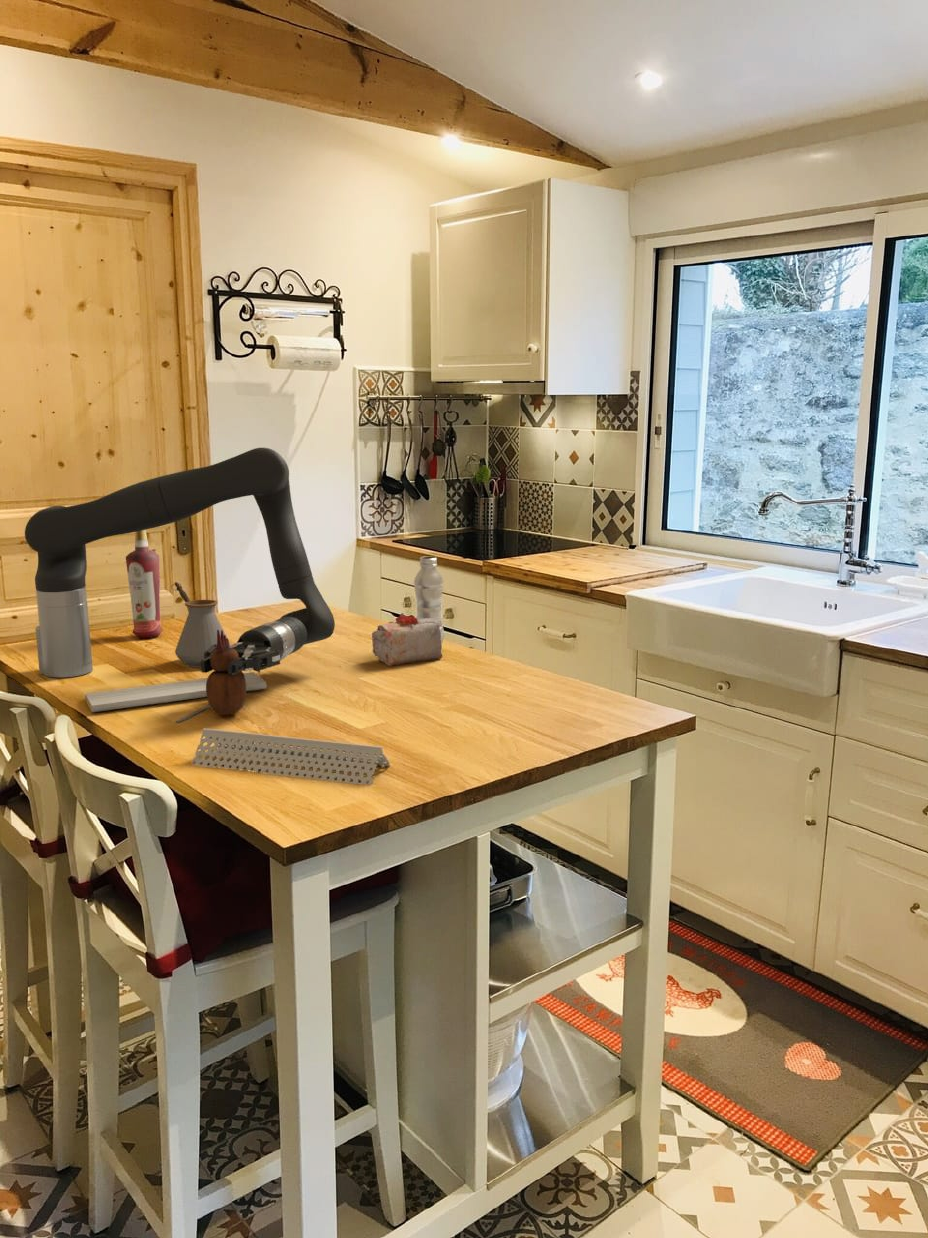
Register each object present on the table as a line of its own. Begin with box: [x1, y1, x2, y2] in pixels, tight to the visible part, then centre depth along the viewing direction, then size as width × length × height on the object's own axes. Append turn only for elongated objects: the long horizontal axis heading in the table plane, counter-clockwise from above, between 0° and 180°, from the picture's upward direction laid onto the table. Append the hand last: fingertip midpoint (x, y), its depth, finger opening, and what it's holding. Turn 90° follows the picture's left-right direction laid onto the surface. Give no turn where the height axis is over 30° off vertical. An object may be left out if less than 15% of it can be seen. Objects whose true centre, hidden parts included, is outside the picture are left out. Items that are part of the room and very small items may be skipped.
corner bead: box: [190, 728, 391, 786], centre depth 148 cm, size 29×9×5 cm, turn 73°
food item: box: [371, 612, 443, 667], centre depth 209 cm, size 14×8×10 cm, turn 120°
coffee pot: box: [170, 581, 232, 668], centre depth 211 cm, size 21×12×15 cm, turn 34°
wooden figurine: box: [206, 629, 247, 716], centre depth 171 cm, size 7×6×15 cm
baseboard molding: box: [84, 670, 268, 713], centre depth 185 cm, size 31×3×12 cm
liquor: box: [125, 529, 164, 640], centre depth 229 cm, size 7×7×28 cm
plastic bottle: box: [413, 555, 445, 645], centre depth 219 cm, size 6×7×20 cm
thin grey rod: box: [175, 703, 211, 723], centre depth 177 cm, size 1×19×1 cm, turn 161°
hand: (216, 668), depth 168 cm, fingers closed on wooden figurine, 4 cm apart
